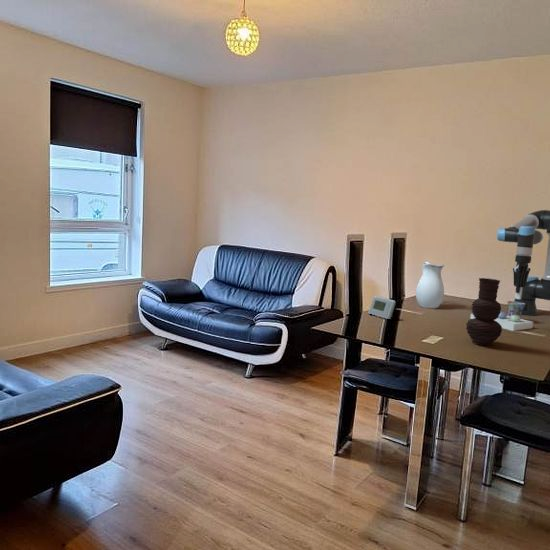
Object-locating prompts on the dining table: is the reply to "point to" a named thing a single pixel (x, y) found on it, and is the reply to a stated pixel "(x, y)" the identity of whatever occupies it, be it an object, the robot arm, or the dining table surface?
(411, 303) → the dining table surface
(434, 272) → the pitcher
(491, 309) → the vase
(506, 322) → the panel
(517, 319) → the sage button
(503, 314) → the slate button
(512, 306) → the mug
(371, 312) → the digital clock
